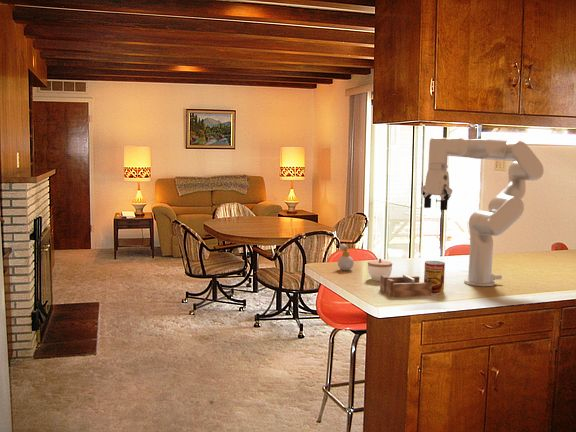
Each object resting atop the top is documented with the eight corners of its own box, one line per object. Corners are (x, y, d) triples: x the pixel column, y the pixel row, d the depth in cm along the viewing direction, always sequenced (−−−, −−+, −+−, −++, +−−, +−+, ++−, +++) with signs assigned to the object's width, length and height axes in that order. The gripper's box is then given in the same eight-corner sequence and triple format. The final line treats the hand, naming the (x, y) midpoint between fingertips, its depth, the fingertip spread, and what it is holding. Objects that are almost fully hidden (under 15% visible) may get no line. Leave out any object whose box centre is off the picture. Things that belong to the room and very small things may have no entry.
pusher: (404, 288, 252) (405, 274, 251) (414, 294, 243) (414, 279, 242) (382, 289, 250) (382, 275, 249) (390, 294, 241) (391, 279, 240)
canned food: (422, 292, 247) (423, 263, 246) (425, 288, 255) (426, 260, 253) (442, 294, 245) (443, 264, 243) (444, 290, 252) (445, 261, 251)
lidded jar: (362, 278, 274) (363, 257, 273) (383, 276, 278) (384, 256, 277) (375, 283, 264) (376, 261, 263) (396, 281, 268) (397, 260, 267)
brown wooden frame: (417, 288, 255) (418, 273, 255) (431, 295, 242) (432, 280, 242) (379, 289, 252) (379, 274, 251) (391, 296, 239) (391, 281, 238)
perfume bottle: (344, 272, 287) (345, 246, 285) (331, 268, 294) (331, 244, 293) (356, 270, 291) (357, 245, 290) (343, 267, 299) (343, 242, 298)
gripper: (459, 168, 249) (457, 210, 251) (430, 167, 264) (427, 206, 266) (445, 168, 245) (443, 211, 247) (416, 166, 260) (414, 207, 262)
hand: (435, 208), depth 256 cm, fingers open, 9 cm apart
